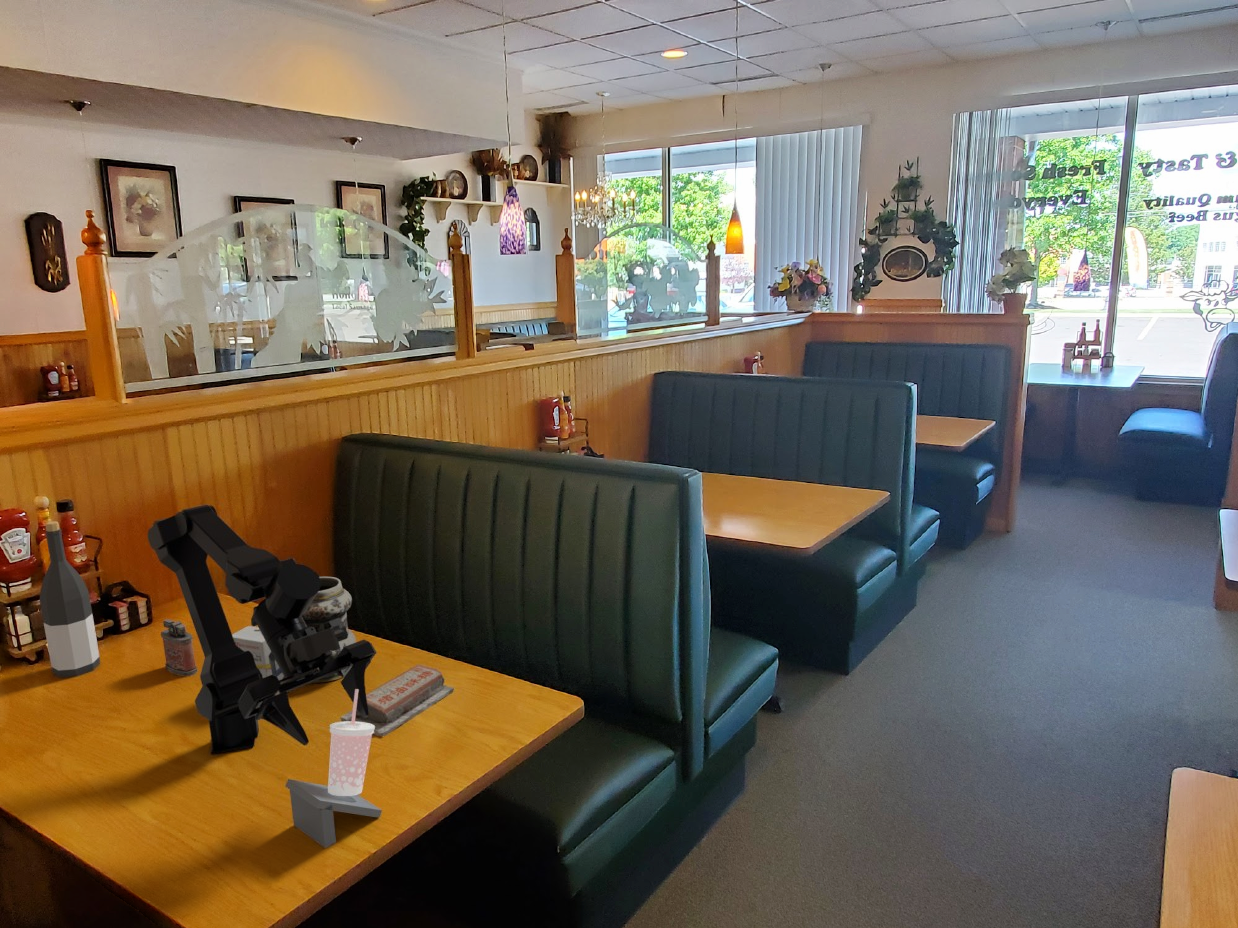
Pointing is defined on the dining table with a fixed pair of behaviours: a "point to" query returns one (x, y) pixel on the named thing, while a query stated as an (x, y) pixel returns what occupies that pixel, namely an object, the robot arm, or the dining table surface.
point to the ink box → (257, 650)
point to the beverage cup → (349, 755)
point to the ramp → (323, 809)
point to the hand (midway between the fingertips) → (337, 729)
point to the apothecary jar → (330, 614)
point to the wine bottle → (67, 613)
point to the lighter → (178, 649)
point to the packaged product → (402, 699)
